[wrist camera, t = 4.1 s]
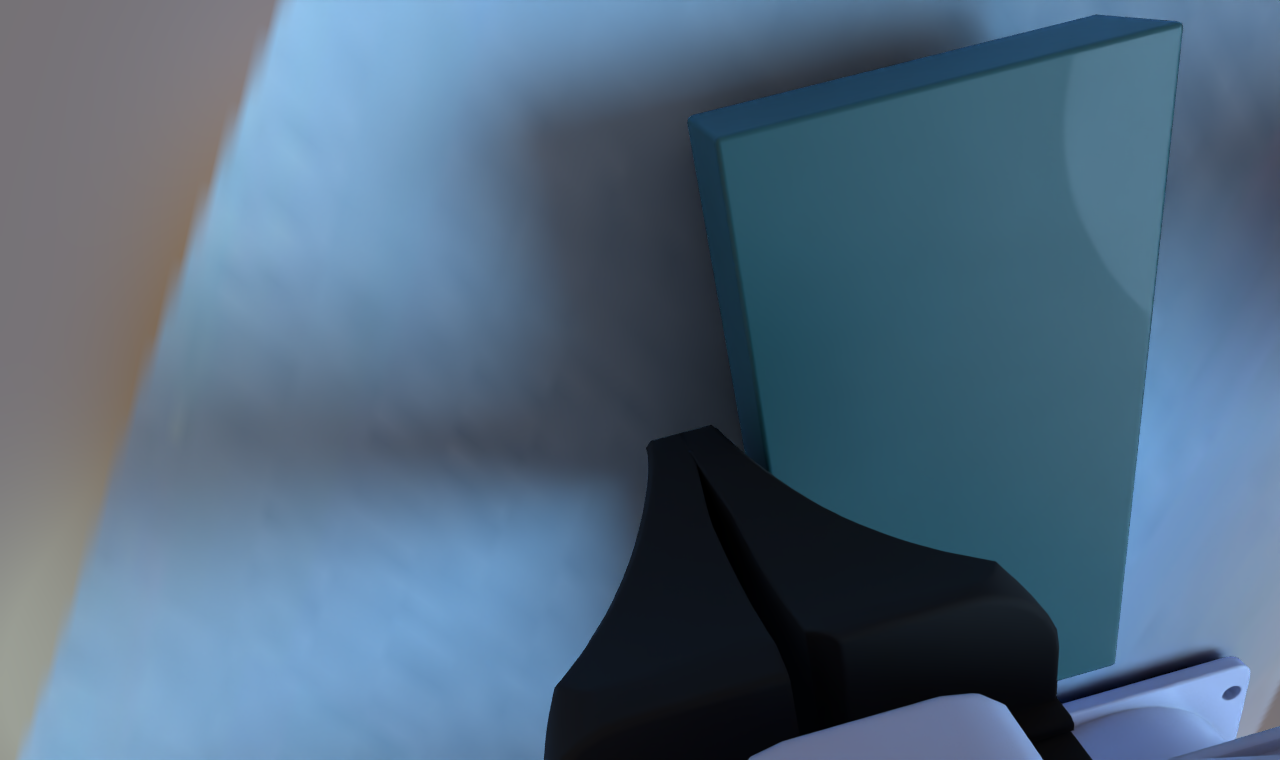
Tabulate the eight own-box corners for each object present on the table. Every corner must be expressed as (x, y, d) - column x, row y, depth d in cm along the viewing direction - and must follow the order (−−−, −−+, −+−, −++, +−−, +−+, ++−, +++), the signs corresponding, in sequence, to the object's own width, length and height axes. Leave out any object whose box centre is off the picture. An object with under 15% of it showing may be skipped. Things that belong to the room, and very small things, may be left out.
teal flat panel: (1031, 570, 19) (1116, 666, 17) (768, 643, 19) (812, 753, 16) (1050, 8, 13) (1186, 20, 11) (669, 103, 13) (713, 139, 10)
